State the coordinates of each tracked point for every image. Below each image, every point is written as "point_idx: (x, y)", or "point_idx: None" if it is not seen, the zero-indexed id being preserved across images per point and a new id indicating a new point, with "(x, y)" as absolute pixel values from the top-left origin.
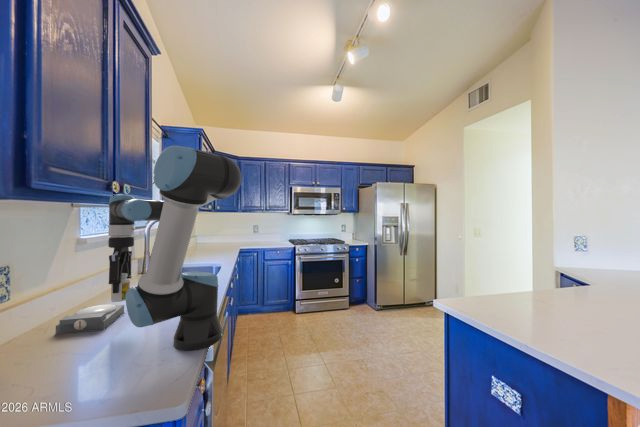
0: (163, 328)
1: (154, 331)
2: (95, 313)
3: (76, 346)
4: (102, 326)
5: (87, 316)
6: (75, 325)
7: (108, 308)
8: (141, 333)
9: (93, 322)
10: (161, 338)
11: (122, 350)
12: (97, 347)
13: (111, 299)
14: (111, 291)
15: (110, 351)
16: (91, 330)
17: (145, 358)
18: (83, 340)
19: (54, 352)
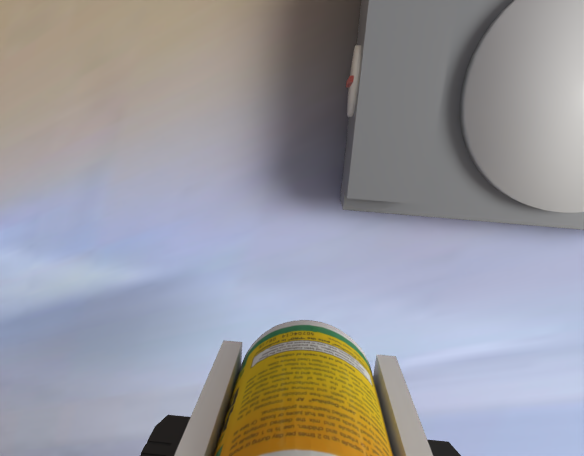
0: None
1: None
2: (494, 117)
3: (164, 148)
4: (341, 196)
5: (387, 107)
6: (354, 56)
7: (579, 169)
8: None
9: (349, 153)
10: None
11: (85, 335)
12: (133, 240)
13: (272, 332)
14: (265, 380)
15: (86, 298)
16: (346, 142)
17: (14, 413)
18: (225, 152)
19: (124, 78)
